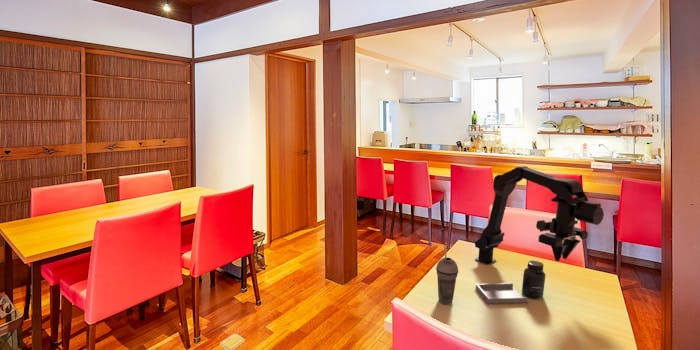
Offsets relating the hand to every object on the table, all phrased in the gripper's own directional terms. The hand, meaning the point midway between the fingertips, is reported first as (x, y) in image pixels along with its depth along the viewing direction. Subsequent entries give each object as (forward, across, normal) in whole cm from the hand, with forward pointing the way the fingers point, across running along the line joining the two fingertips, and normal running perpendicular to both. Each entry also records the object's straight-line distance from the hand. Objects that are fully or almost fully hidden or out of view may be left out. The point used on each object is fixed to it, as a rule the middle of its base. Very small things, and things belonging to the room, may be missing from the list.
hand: (560, 259), depth 123 cm
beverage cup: (+13, +38, -14) cm, 43 cm away
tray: (+13, +19, -8) cm, 24 cm away
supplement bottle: (+13, +8, -4) cm, 16 cm away
